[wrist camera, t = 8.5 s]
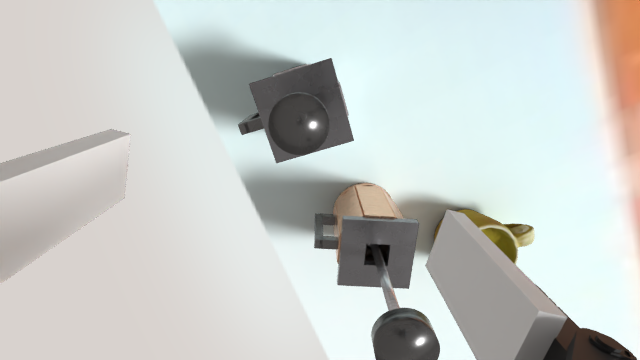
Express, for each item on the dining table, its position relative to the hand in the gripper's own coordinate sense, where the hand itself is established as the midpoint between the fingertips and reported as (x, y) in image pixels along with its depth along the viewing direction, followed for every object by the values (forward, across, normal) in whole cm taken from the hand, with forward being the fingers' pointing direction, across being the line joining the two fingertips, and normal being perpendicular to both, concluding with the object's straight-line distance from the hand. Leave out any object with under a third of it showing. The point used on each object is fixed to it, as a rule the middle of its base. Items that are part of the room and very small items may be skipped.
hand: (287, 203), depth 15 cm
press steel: (+37, -2, 0) cm, 37 cm away
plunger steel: (+34, 0, +1) cm, 34 cm away
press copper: (+37, +10, -13) cm, 41 cm away
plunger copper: (+27, +12, -13) cm, 32 cm away
